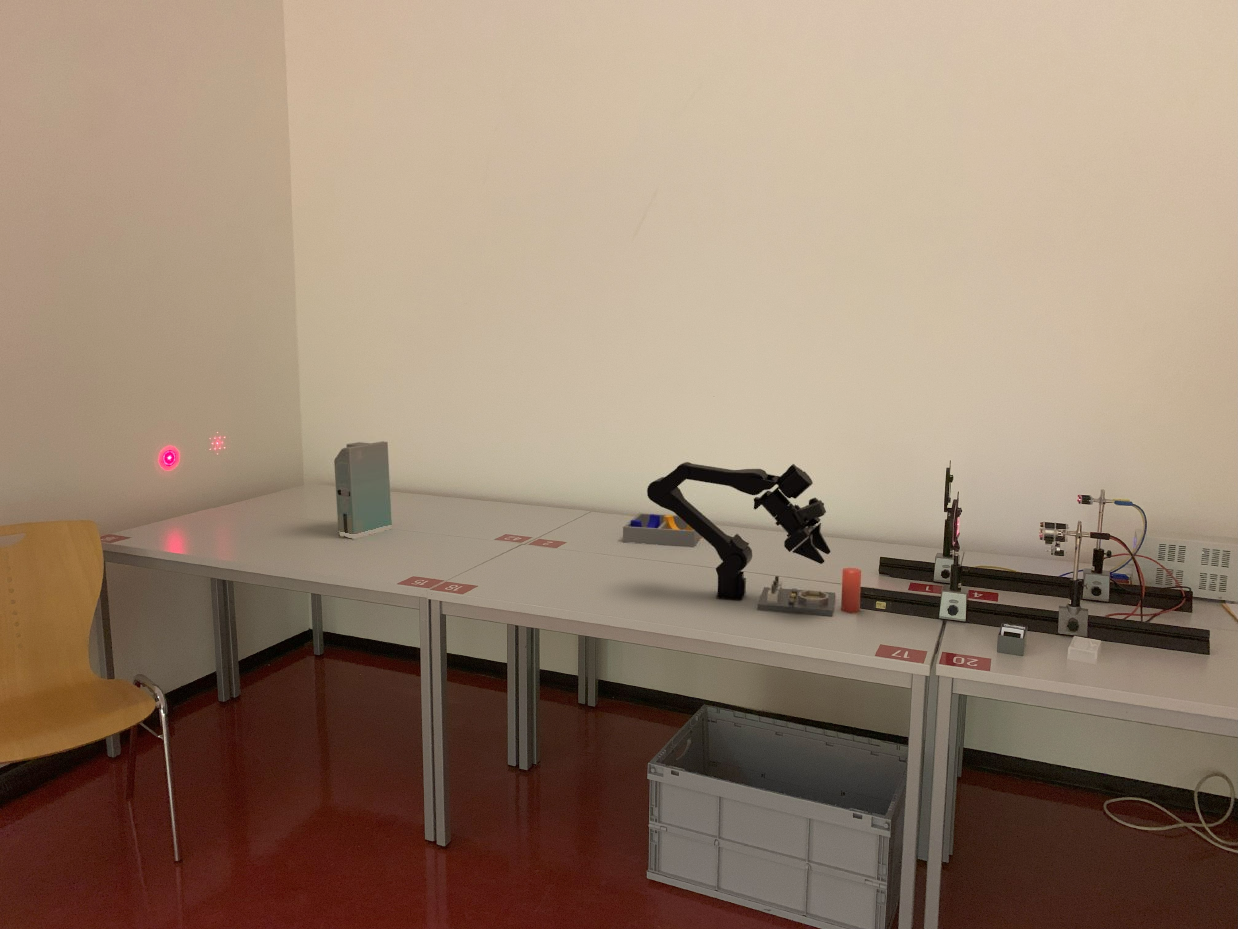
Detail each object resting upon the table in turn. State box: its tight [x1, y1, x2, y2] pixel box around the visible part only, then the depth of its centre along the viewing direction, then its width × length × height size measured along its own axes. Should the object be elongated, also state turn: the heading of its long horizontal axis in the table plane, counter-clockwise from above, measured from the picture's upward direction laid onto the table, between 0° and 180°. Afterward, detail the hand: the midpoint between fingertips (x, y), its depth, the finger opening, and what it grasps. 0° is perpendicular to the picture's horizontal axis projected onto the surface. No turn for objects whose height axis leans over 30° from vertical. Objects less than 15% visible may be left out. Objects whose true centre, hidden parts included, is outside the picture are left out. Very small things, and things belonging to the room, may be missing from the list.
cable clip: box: [630, 513, 661, 528], centre depth 292 cm, size 12×4×6 cm, turn 142°
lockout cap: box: [840, 567, 862, 614], centre depth 218 cm, size 4×4×10 cm
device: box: [333, 441, 393, 534], centre depth 295 cm, size 16×8×30 cm, turn 148°
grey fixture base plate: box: [756, 575, 836, 617], centre depth 223 cm, size 18×14×6 cm
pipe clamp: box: [664, 514, 701, 537], centre depth 288 cm, size 12×4×6 cm, turn 47°
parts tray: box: [622, 512, 703, 548], centre depth 290 cm, size 23×20×5 cm
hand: (826, 557), depth 219 cm, fingers open, 9 cm apart
